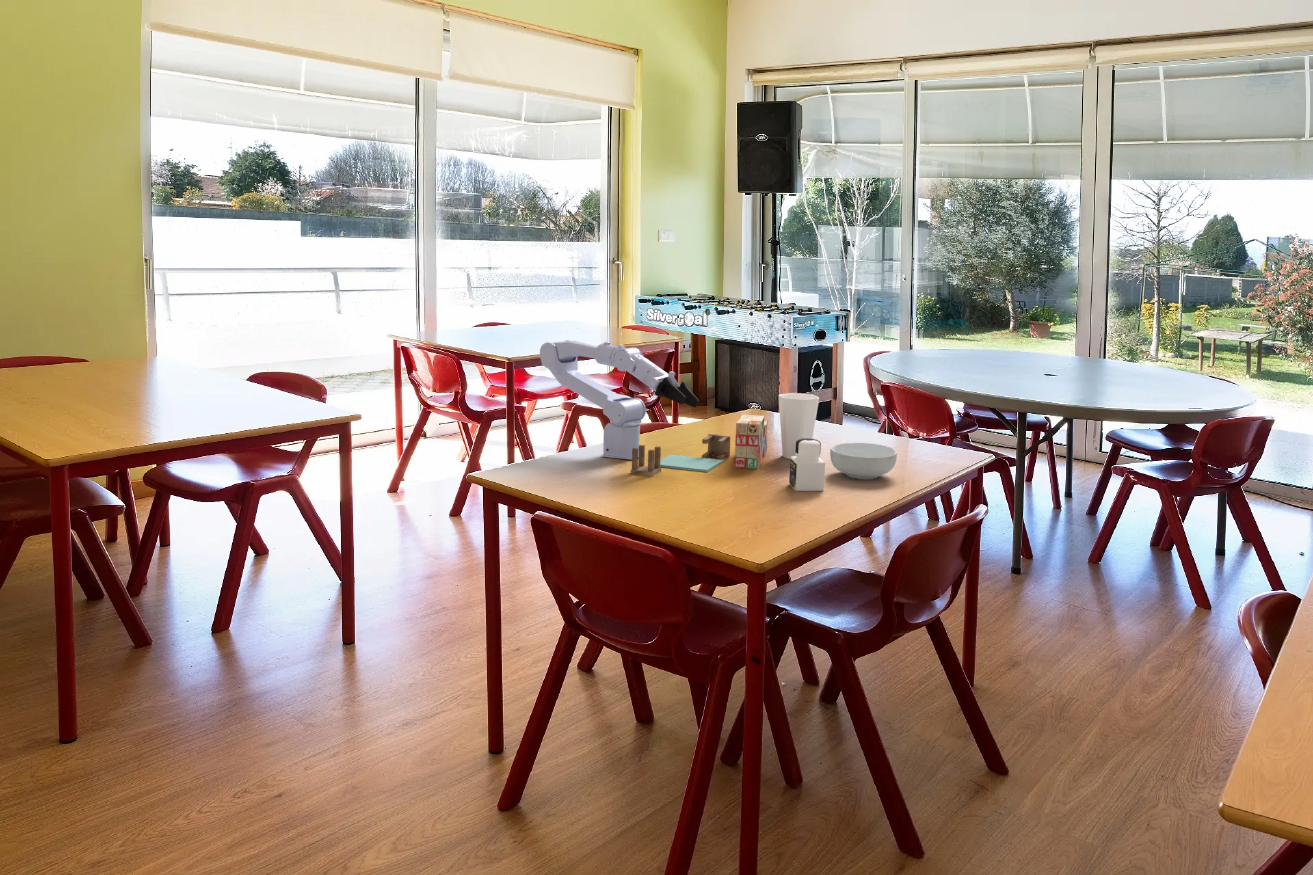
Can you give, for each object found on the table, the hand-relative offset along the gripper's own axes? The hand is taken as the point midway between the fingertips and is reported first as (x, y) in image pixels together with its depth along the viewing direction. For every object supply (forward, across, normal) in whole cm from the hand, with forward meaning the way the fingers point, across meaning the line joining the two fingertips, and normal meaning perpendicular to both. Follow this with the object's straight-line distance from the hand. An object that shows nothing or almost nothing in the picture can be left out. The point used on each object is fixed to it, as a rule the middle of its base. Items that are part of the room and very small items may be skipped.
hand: (690, 402), depth 272 cm
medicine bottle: (+38, +3, +2) cm, 38 cm away
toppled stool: (+5, +15, +10) cm, 19 cm away
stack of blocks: (+13, +23, +7) cm, 28 cm away
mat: (+5, +9, +15) cm, 18 cm away
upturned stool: (+2, -6, +21) cm, 22 cm away
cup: (+20, +33, +1) cm, 39 cm away
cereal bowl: (+42, +23, -6) cm, 48 cm away
